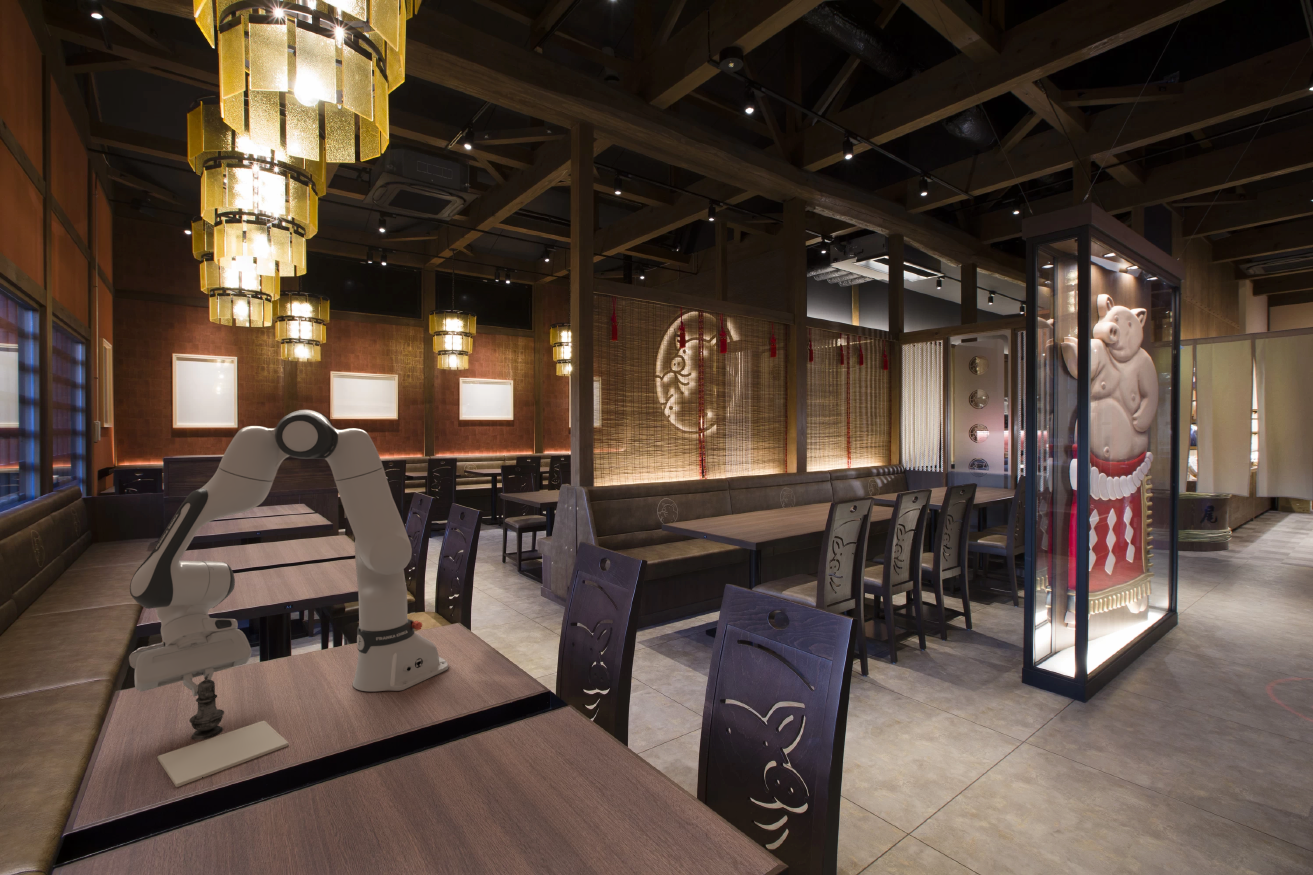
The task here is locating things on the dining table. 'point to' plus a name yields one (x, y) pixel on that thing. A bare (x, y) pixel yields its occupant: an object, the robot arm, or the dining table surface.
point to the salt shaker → (206, 712)
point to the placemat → (220, 752)
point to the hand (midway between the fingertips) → (202, 693)
